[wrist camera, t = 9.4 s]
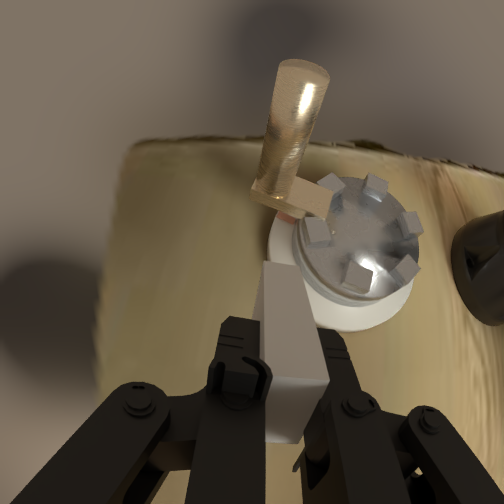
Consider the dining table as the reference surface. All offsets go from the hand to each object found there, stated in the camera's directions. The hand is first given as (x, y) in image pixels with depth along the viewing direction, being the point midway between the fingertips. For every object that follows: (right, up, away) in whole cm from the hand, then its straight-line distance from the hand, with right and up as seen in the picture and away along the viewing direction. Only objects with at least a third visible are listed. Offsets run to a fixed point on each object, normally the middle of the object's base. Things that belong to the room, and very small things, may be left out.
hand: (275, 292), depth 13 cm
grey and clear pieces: (+7, +3, +16) cm, 18 cm away
